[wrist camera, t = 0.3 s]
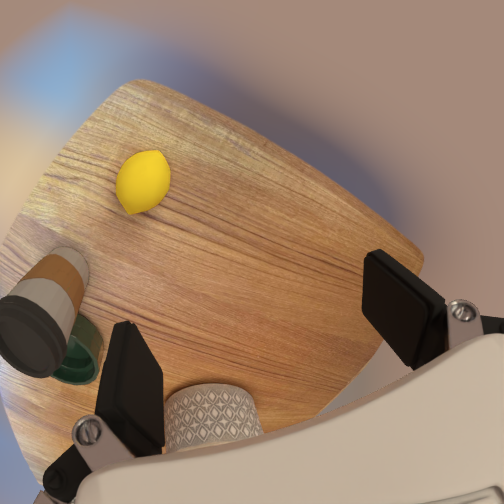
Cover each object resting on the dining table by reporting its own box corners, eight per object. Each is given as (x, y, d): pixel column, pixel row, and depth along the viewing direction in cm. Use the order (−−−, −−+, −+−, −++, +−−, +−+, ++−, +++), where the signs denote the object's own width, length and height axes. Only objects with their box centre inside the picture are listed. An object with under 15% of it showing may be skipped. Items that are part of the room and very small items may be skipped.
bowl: (27, 311, 30) (14, 332, 26) (82, 298, 32) (72, 322, 27) (62, 364, 35) (55, 386, 31) (116, 357, 37) (112, 381, 32)
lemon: (139, 138, 26) (129, 140, 21) (183, 160, 28) (182, 166, 23) (112, 196, 27) (98, 210, 23) (154, 216, 30) (148, 234, 25)
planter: (145, 399, 42) (145, 460, 31) (219, 364, 41) (234, 432, 30) (200, 432, 50) (209, 482, 39) (267, 403, 49) (285, 456, 38)
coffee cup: (56, 299, 31) (17, 381, 17) (33, 244, 27) (-28, 314, 14) (106, 290, 32) (77, 381, 19) (85, 230, 28) (29, 304, 15)
